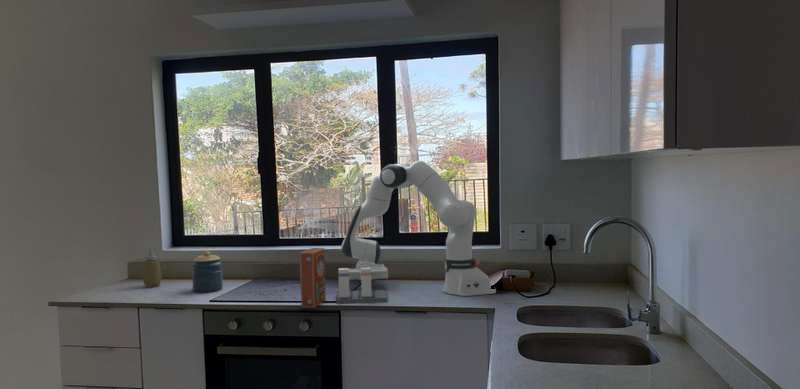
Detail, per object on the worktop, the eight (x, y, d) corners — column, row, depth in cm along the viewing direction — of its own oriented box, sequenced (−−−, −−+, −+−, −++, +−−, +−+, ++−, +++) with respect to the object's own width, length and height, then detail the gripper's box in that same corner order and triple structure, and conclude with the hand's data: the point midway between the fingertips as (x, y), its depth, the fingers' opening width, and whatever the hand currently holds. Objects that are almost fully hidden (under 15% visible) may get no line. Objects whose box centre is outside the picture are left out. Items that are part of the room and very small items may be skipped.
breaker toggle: (371, 294, 198) (370, 267, 198) (371, 296, 194) (371, 269, 194) (361, 294, 198) (360, 267, 198) (361, 296, 194) (360, 269, 194)
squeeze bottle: (163, 286, 229) (162, 248, 228) (144, 289, 224) (142, 250, 224) (160, 283, 236) (159, 247, 235) (141, 286, 231) (140, 248, 230)
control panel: (328, 299, 199) (314, 309, 184) (312, 298, 200) (297, 308, 186) (327, 247, 198) (313, 253, 183) (311, 247, 200) (296, 252, 185)
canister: (219, 285, 230) (218, 248, 230) (226, 290, 219) (225, 251, 219) (190, 289, 223) (188, 250, 222) (195, 294, 212) (194, 254, 212)
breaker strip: (385, 293, 207) (384, 263, 207) (386, 301, 193) (386, 269, 193) (337, 295, 206) (336, 264, 205) (335, 303, 192) (334, 270, 191)
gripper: (342, 265, 222) (341, 270, 208) (387, 263, 224) (388, 269, 210) (342, 278, 222) (341, 285, 208) (387, 277, 224) (389, 283, 210)
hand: (365, 277), depth 209 cm, fingers closed
